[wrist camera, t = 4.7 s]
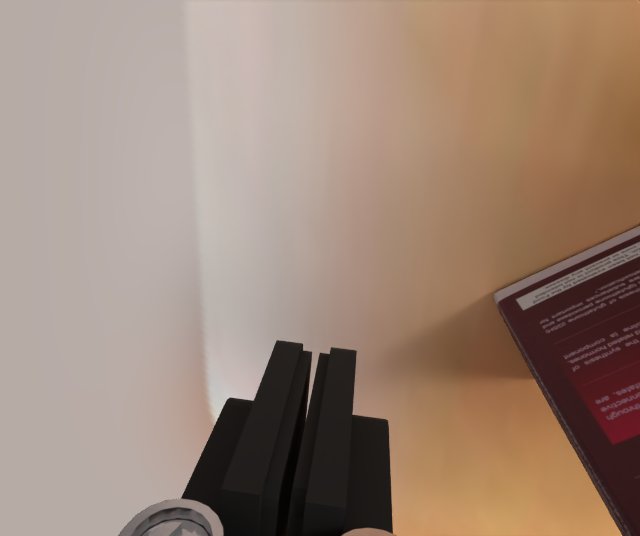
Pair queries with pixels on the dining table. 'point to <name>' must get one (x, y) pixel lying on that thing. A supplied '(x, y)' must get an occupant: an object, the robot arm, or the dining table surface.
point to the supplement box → (589, 361)
